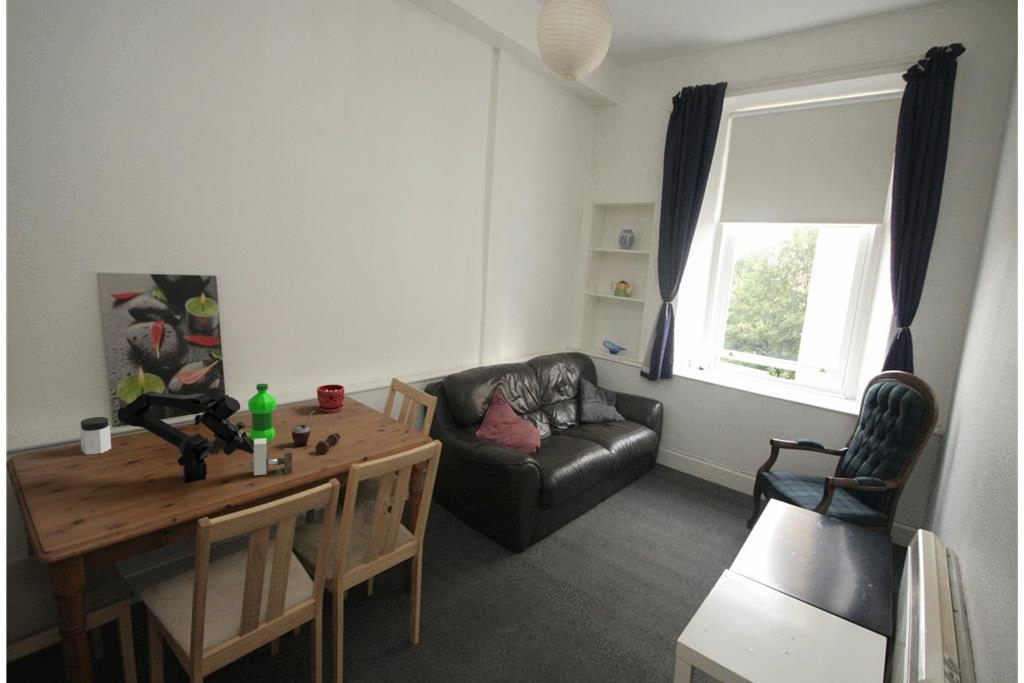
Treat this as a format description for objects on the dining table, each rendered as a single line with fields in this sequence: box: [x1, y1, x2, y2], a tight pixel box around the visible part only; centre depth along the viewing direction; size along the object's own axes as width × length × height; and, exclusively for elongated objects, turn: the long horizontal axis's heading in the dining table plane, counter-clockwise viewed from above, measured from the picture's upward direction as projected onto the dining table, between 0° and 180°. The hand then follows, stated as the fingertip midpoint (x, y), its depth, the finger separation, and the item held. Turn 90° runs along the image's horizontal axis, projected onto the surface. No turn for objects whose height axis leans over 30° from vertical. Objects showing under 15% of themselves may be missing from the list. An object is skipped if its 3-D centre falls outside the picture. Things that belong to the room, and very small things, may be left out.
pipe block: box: [276, 447, 293, 475], centre depth 191 cm, size 5×5×8 cm
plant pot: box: [316, 384, 345, 413], centre depth 260 cm, size 13×13×12 cm
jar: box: [79, 416, 112, 456], centre depth 194 cm, size 9×8×12 cm
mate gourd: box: [291, 409, 316, 448], centre depth 215 cm, size 8×8×15 cm
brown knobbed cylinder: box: [315, 432, 341, 455], centre depth 217 cm, size 6×5×15 cm
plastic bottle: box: [247, 383, 277, 444], centre depth 213 cm, size 10×10×25 cm
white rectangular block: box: [253, 438, 269, 476], centre depth 188 cm, size 5×5×12 cm
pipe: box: [249, 457, 285, 468], centre depth 189 cm, size 12×3×3 cm, turn 115°
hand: (253, 452), depth 185 cm, fingers closed, pressing on white rectangular block
